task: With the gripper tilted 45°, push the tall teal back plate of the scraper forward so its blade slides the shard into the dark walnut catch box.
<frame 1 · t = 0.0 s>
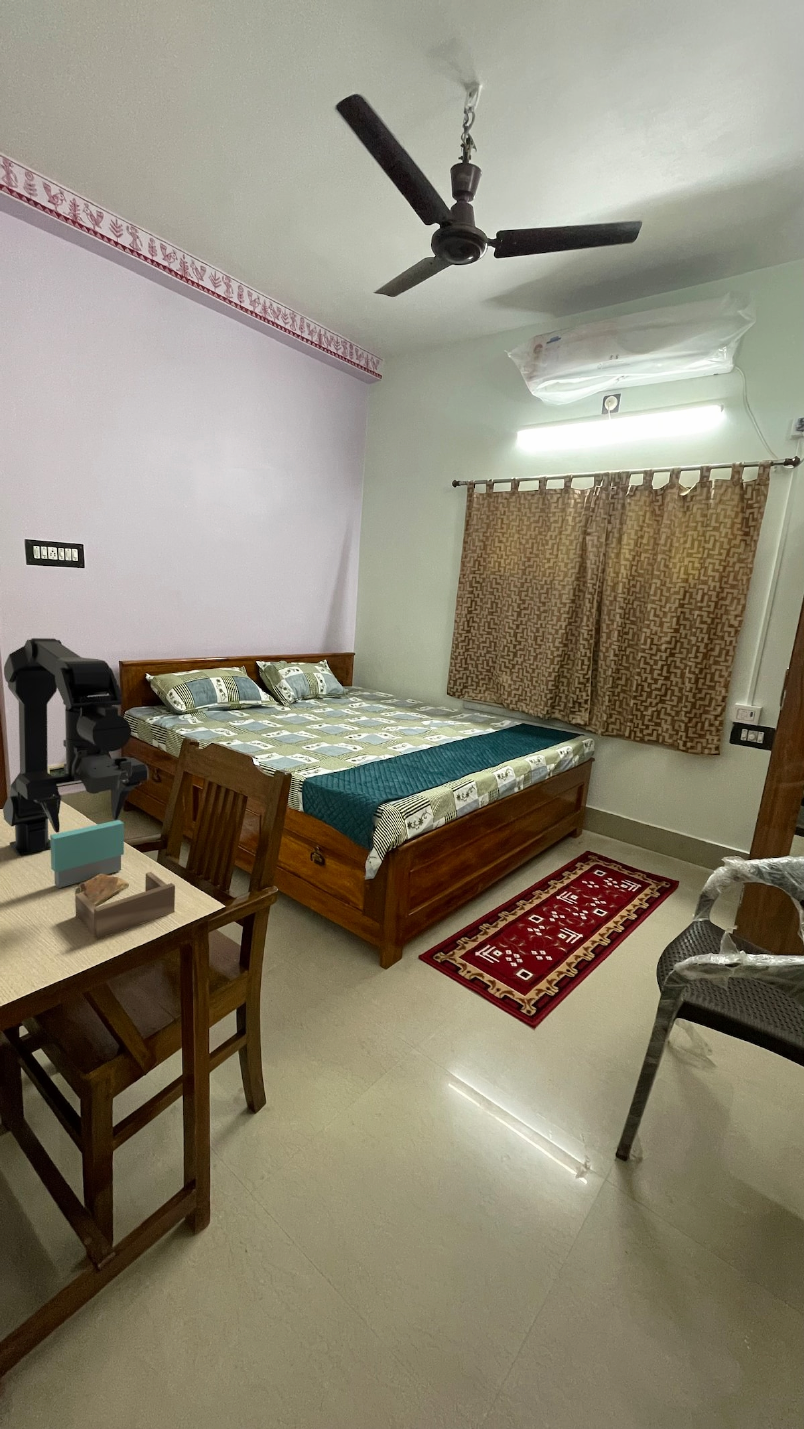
hand: (86, 825, 96), 15 cm above the table, tool pointing down, fingers open, 9 cm apart
catch box: (126, 913, 97), on the table
shard: (105, 897, 103), on the table
scraper: (88, 853, 106), point 5 cm above the table, slide at 0.0 cm
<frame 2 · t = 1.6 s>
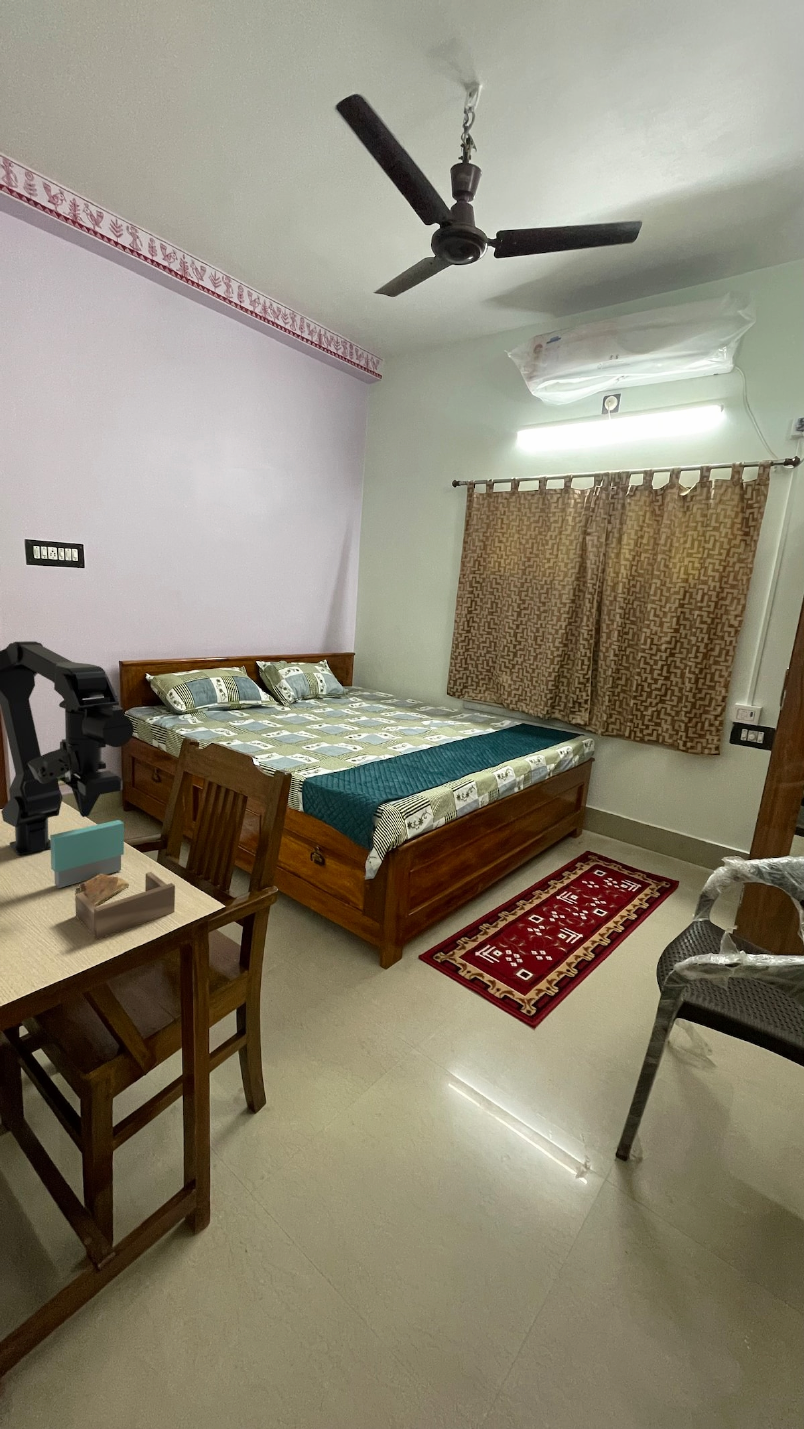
hand: (84, 816, 106), 12 cm above the table, tool pointing down, fingers closed
nothing on the table moved.
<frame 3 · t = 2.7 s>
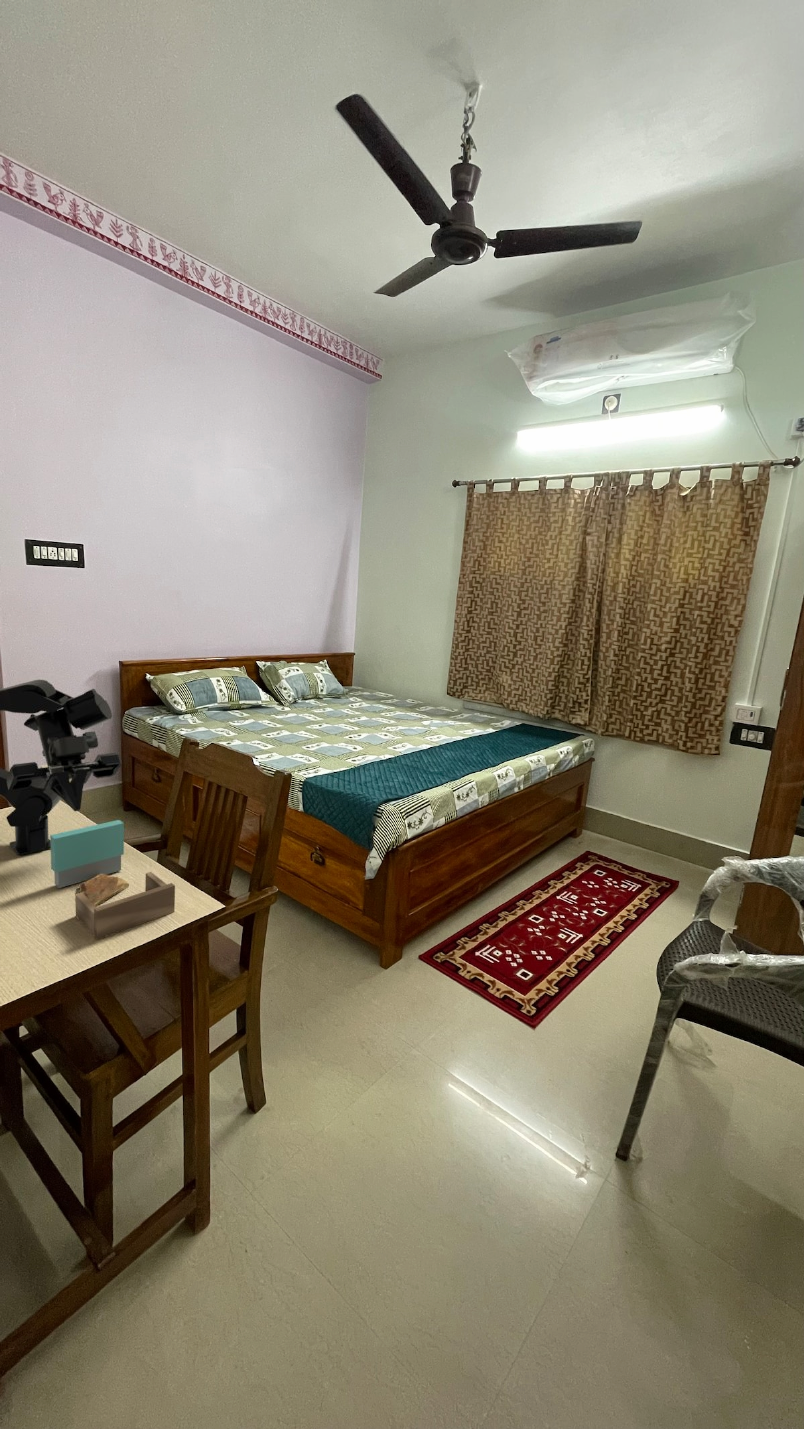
hand: (77, 810, 107), 12 cm above the table, tool tilted 45°, fingers closed
nothing on the table moved.
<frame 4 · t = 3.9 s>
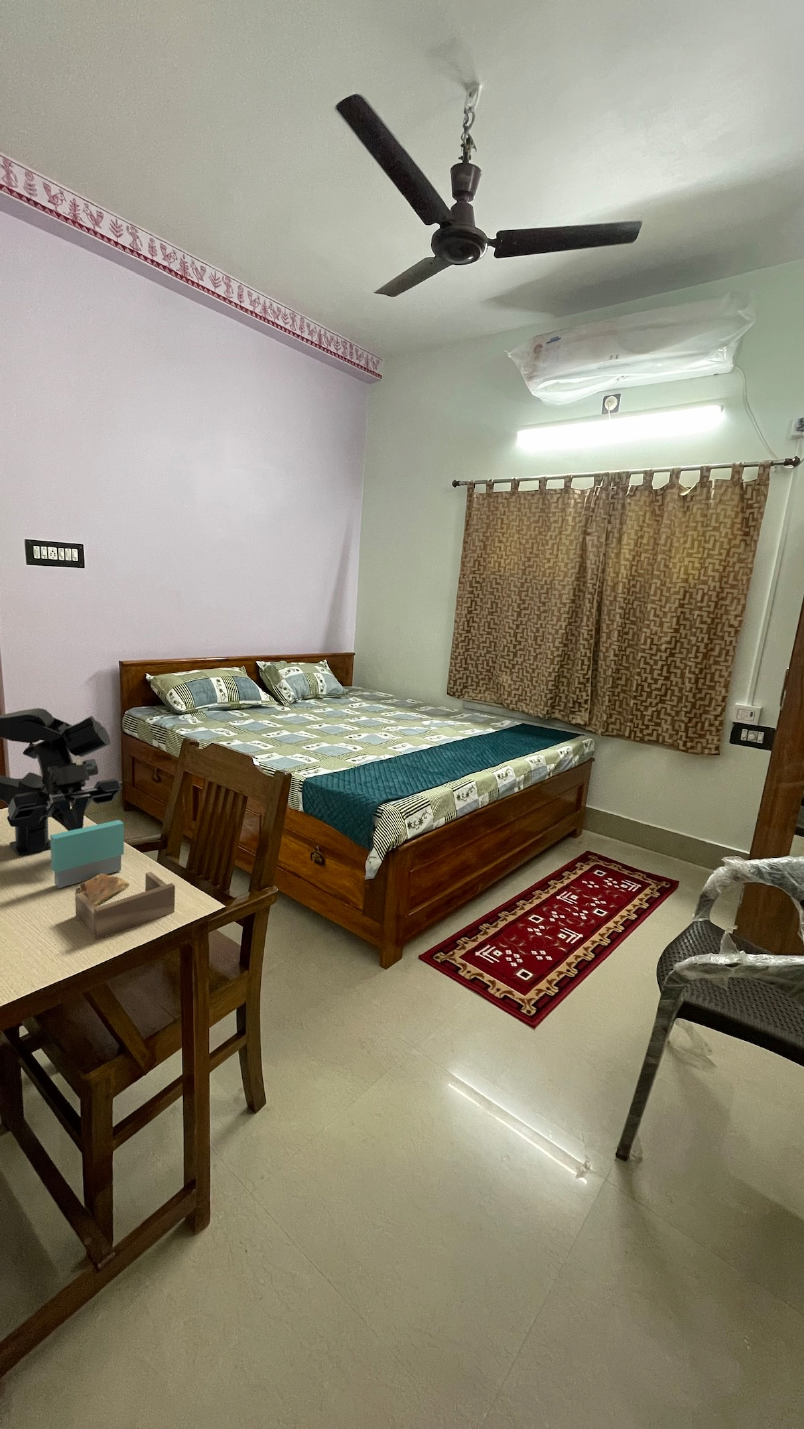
hand: (79, 837, 109), 7 cm above the table, tool tilted 45°, fingers closed
nothing on the table moved.
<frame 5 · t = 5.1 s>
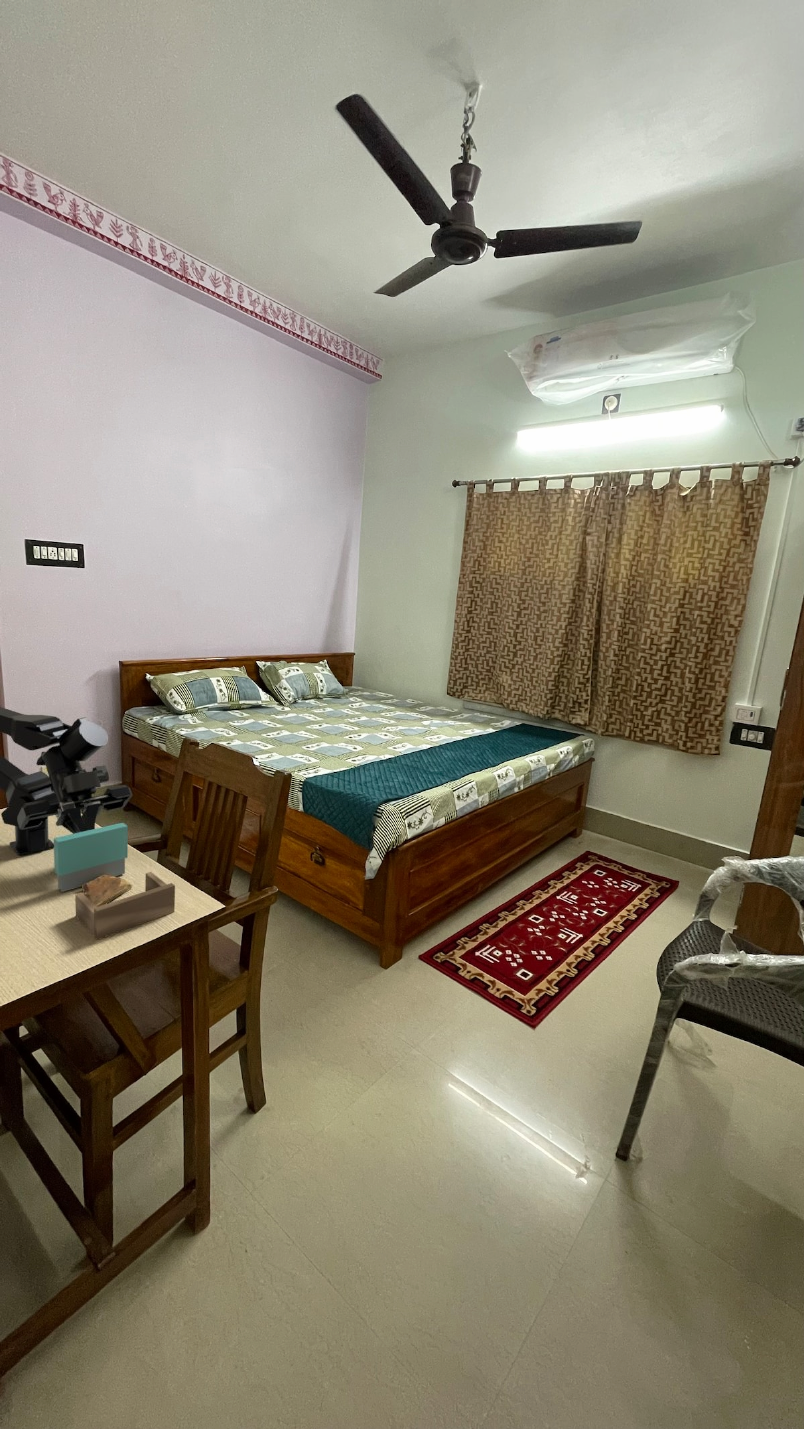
hand: (91, 846, 106), 7 cm above the table, tool tilted 45°, fingers closed, pressing on scraper
shard: (108, 898, 102), on the table, touching scraper
scraper: (92, 856, 105), point 5 cm above the table, slide at 1.7 cm, touching shard, gripper
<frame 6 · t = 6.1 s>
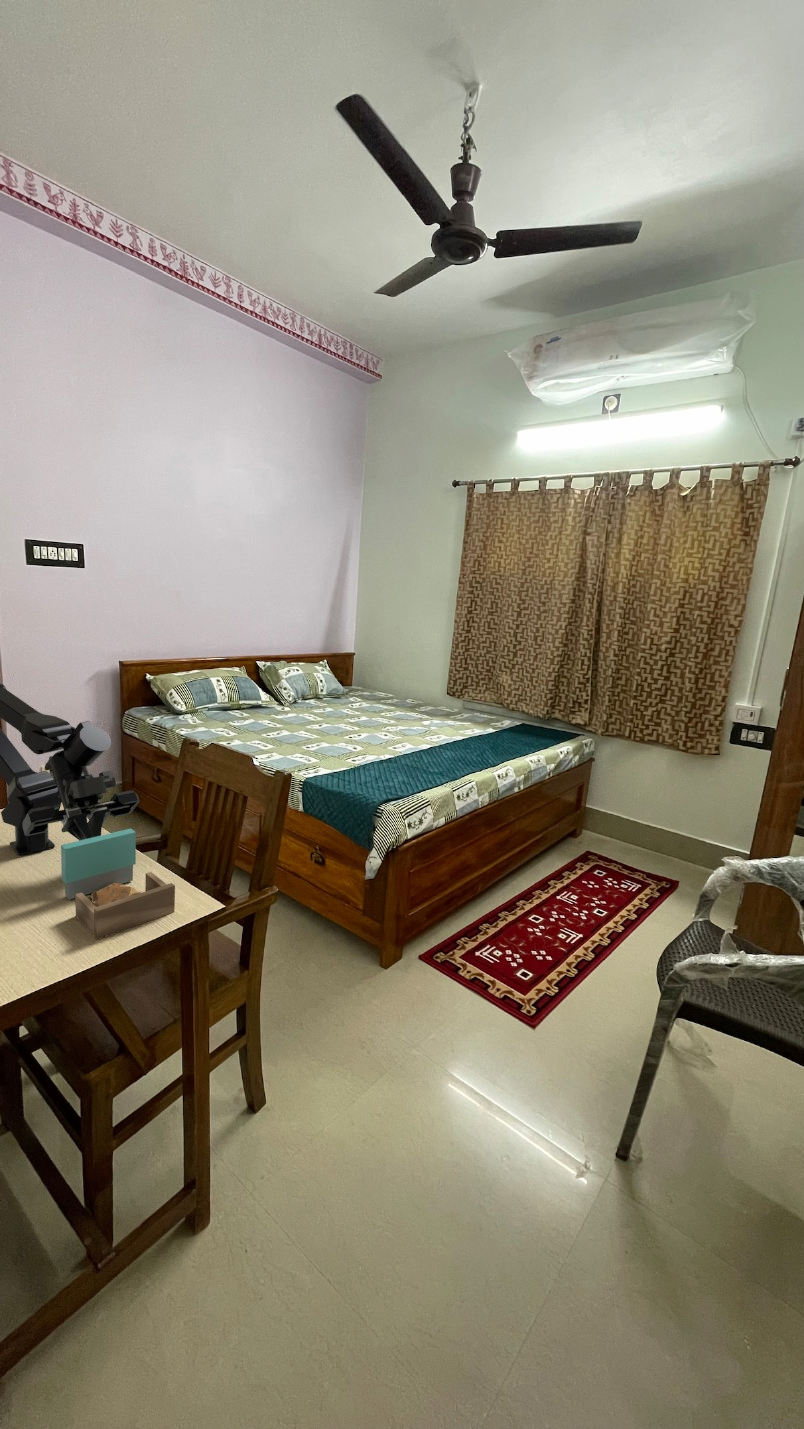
hand: (97, 853, 104), 7 cm above the table, tool tilted 45°, fingers closed, pressing on scraper
shard: (117, 908, 100), on the table, touching catch box
scraper: (99, 863, 103), point 5 cm above the table, slide at 5.1 cm, touching gripper
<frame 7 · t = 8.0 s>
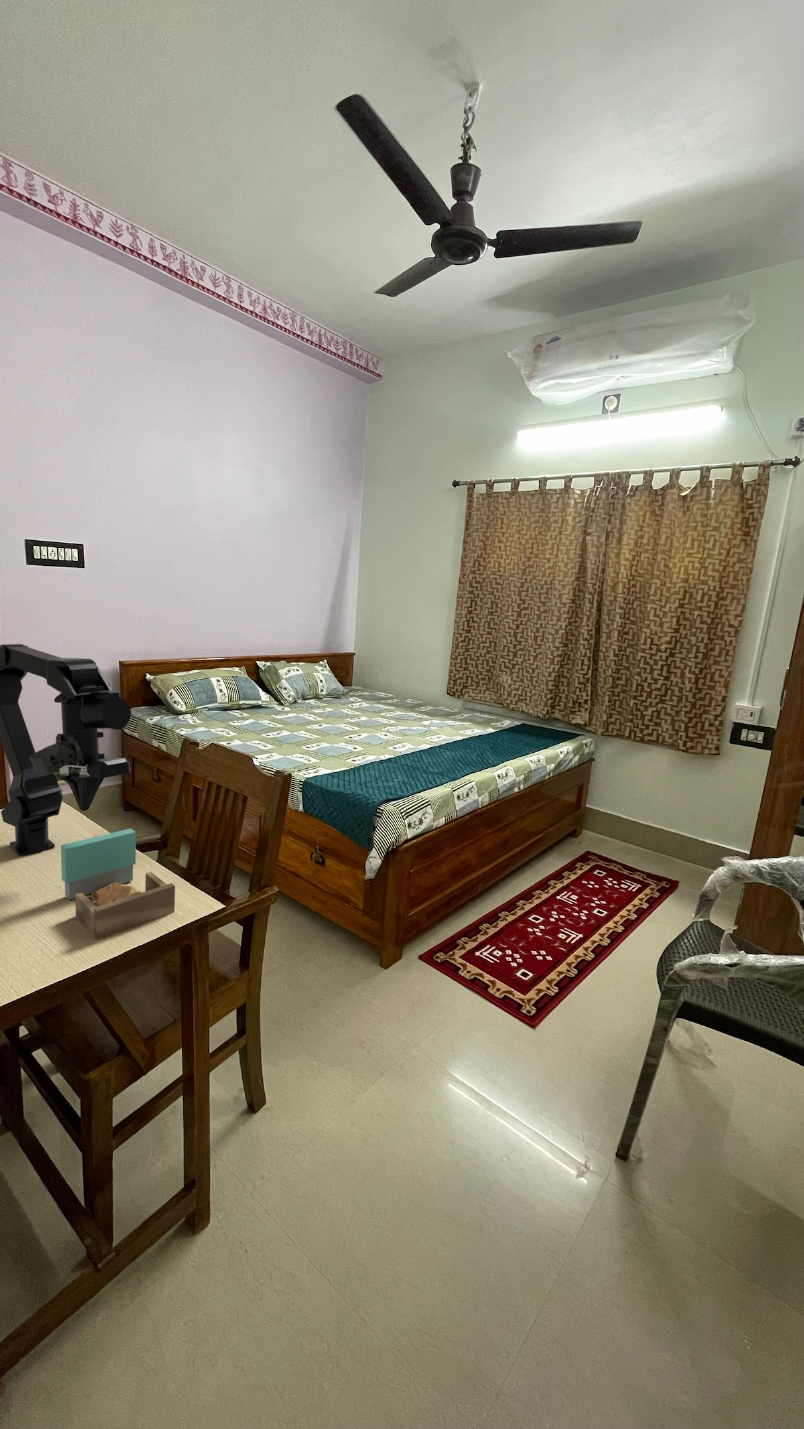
hand: (84, 810, 106), 13 cm above the table, tool pointing down, fingers closed
shard: (117, 907, 100), on the table
scraper: (99, 863, 103), point 5 cm above the table, slide at 5.1 cm
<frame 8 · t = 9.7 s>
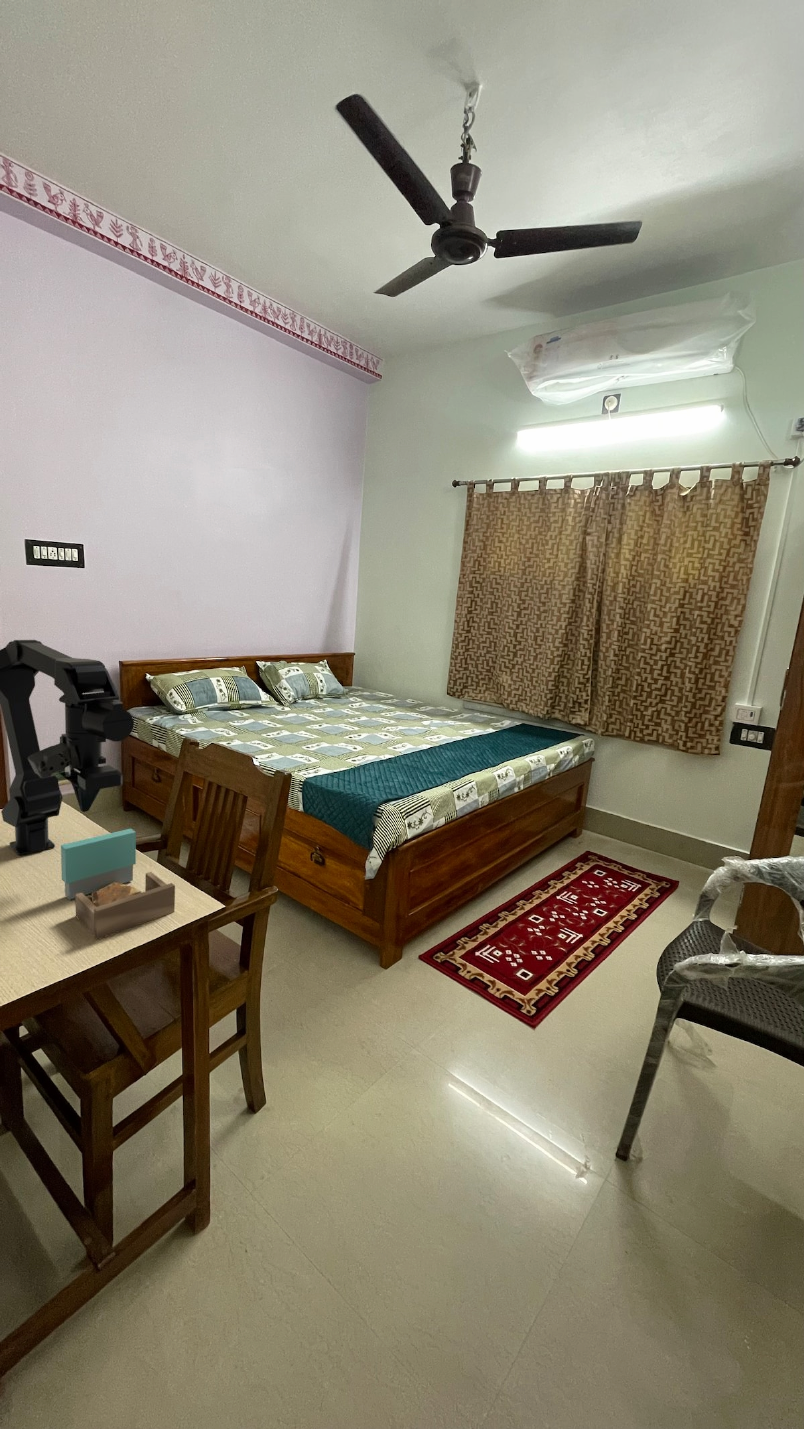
hand: (84, 811, 106), 13 cm above the table, tool pointing down, fingers closed
nothing on the table moved.
at the end: shard 1.0 cm from the target spot, on the table; shard tilted 2°; scraper slide at 5.1 cm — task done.
